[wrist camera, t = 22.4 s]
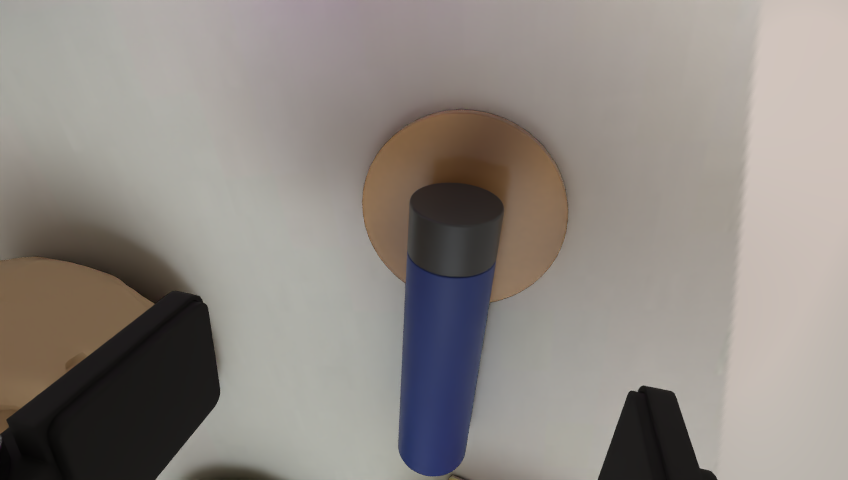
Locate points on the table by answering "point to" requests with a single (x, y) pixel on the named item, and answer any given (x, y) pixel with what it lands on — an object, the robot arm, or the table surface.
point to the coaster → (479, 166)
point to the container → (54, 322)
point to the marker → (445, 319)
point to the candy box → (454, 478)
